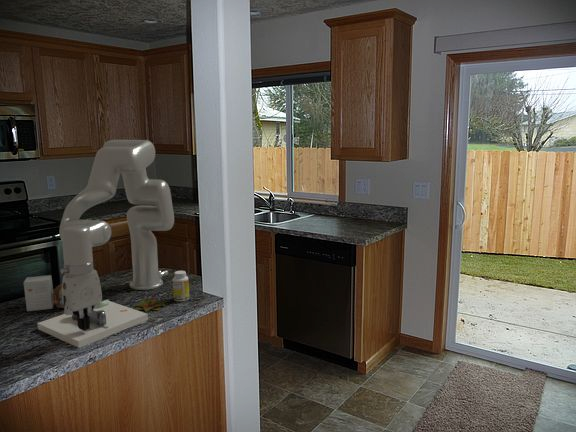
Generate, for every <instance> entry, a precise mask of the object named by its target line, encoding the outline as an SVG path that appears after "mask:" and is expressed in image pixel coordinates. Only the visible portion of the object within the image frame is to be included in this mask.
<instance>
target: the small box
mask: <svg viewBox="0 0 576 432" xmlns="http://www.w3.org/2000/svg"><path fill="white" fill-rule="evenodd" d="M23 289H24V297H25V299H24V300H25V306H26V307H25V308H26V312H34V311H42V310H52V309H53V308H54V305H55V304H54V299H53V293H54V285H53V278H52V275H51V274H47V275H40V276H39V275H38V276H29V277H26V278H25V280H24V281H23Z"/></svg>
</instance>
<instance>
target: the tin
mask: <svg viewBox="0 0 576 432" xmlns="http://www.w3.org/2000/svg"><path fill="white" fill-rule="evenodd" d="M53 292H54V293H53V299H54V305H55V306H56V307H57V308H60V309H65V308H64V307H63V304H62V283H60V284H57V286H55V288H54V289H53Z"/></svg>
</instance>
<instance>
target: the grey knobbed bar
mask: <svg viewBox="0 0 576 432" xmlns="http://www.w3.org/2000/svg"><path fill="white" fill-rule="evenodd" d="M72 319H74V320H77V317H76V316H75V315H72ZM90 322H91V323H94V324H96V325H98V326H103V325H105V324H106V315H105V311H104V310H100V311H94V310H92V313H91V315H90Z"/></svg>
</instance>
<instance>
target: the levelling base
mask: <svg viewBox="0 0 576 432" xmlns="http://www.w3.org/2000/svg"><path fill="white" fill-rule="evenodd" d="M93 310H94V311H100V310H104V311H105V315H106V324H105V325H103V326H98V325H96V324H94V323H91V322H90V329H87V330H85V331H84V330H81V329H79V327H78V322H77V320H74V319H72V315H65V314H64V313H62V314H61V315H58V316H54V317H52V318H49V319H46V320H43V321H40V322H37V330H39V331H41V332H43V333H46V334H48V335H50V336H51V337H54V338H57V339H58V340H61V341H63V342H65V343H67V344H69V345H72V346H74V347H76V348H77V349H78V348H79V349H80V348H83V347H84V346H87V345H90V344H92V343H95V342H97V341H100V340H102V339H105V338H107V337H109V336H112V335H114V334H116V333H119V332H121V331H124V330H126V329H129V328H131V327H134V326H136V325H139V324H141V323H143V322H147V321H148V320H149V315H148V313H147V312H143V311H141V310H135V309H134V308H132V307H128V306H125V305H122V304H119V303H116V302H114V301H110V300H109V299H105V300H102V301H101V302H100V304H99V305H98V306H96V307H94V309H93Z"/></svg>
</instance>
